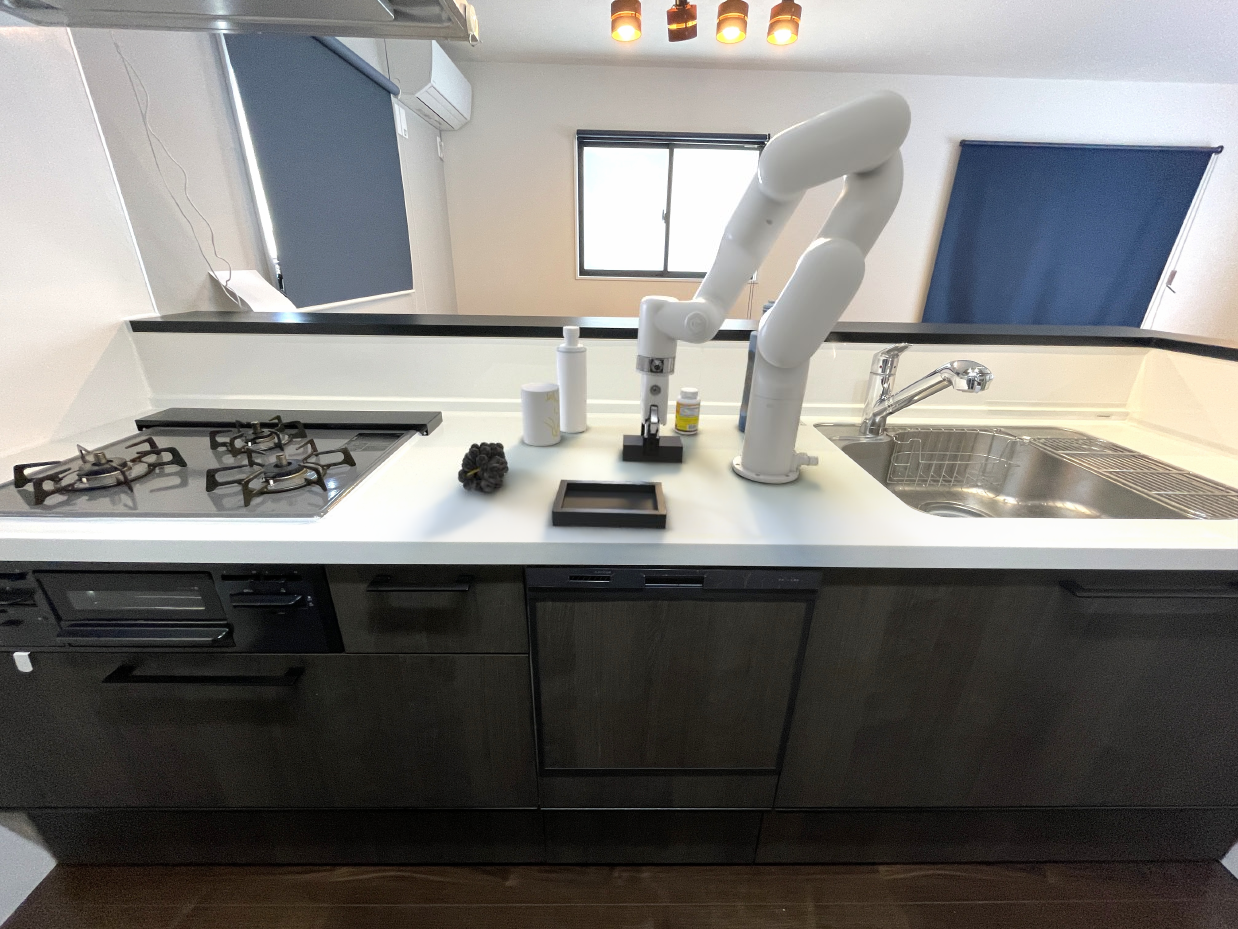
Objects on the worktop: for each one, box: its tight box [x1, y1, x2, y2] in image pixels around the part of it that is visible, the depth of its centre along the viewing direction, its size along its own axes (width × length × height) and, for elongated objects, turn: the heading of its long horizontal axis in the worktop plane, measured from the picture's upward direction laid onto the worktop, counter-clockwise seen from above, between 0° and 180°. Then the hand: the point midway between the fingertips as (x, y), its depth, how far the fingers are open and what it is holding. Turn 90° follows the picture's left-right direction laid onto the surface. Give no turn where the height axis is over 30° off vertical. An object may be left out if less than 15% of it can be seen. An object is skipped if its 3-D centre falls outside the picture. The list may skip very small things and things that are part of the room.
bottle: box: [737, 299, 778, 433], centre depth 114 cm, size 10×10×30 cm
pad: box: [622, 434, 684, 463], centre depth 102 cm, size 12×6×4 cm, turn 89°
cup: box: [520, 381, 561, 447], centre depth 107 cm, size 8×8×12 cm
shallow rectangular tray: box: [551, 479, 667, 530], centre depth 80 cm, size 17×11×2 cm, turn 89°
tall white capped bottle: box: [556, 325, 588, 434], centre depth 112 cm, size 7×7×25 cm
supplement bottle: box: [674, 387, 702, 436], centre depth 115 cm, size 6×6×10 cm
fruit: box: [457, 441, 510, 493], centre depth 88 cm, size 9×8×15 cm
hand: (648, 446), depth 102 cm, fingers open, 9 cm apart
